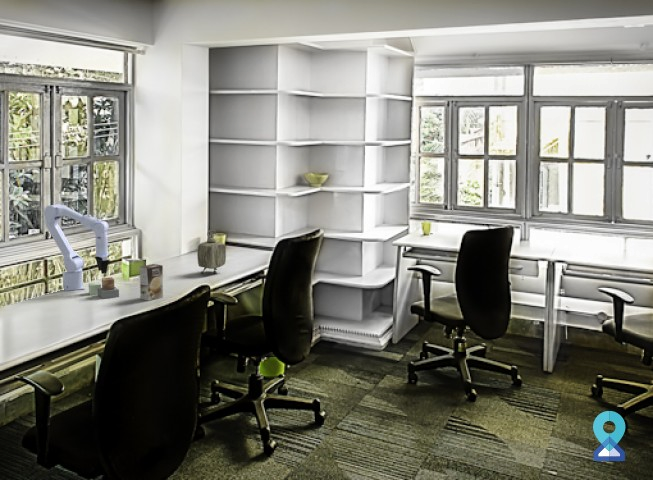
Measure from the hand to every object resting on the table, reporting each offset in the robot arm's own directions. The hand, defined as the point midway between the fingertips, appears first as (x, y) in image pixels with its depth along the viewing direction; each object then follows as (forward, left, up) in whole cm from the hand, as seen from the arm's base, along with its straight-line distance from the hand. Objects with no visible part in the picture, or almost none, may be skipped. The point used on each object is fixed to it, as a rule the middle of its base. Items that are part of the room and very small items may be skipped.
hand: (102, 271), depth 363 cm
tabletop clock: (+63, +15, -10) cm, 65 cm away
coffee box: (+18, -25, -10) cm, 33 cm away
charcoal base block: (0, -13, -10) cm, 16 cm away
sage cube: (-5, -5, -10) cm, 12 cm away
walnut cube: (0, -13, -6) cm, 14 cm away
